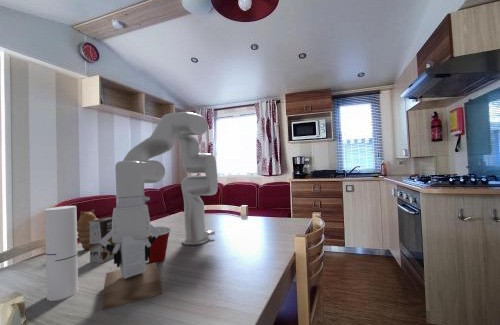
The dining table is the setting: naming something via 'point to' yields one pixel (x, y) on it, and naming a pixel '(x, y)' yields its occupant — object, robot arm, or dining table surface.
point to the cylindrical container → (61, 252)
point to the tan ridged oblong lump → (85, 228)
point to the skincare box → (132, 257)
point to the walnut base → (131, 287)
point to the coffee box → (96, 234)
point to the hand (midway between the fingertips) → (132, 262)
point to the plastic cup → (159, 245)
